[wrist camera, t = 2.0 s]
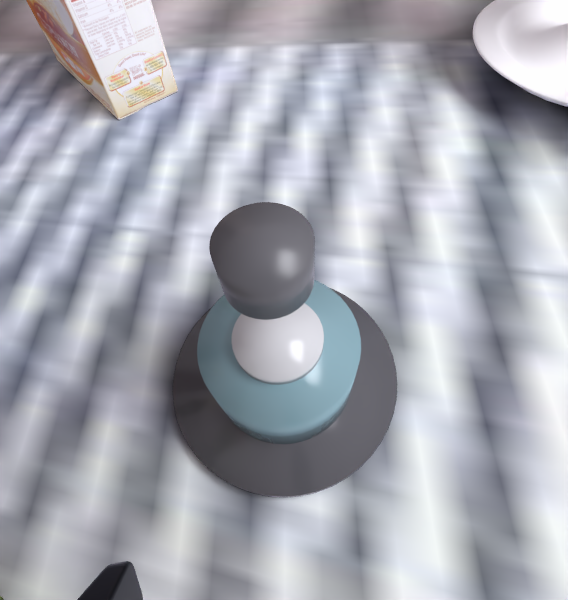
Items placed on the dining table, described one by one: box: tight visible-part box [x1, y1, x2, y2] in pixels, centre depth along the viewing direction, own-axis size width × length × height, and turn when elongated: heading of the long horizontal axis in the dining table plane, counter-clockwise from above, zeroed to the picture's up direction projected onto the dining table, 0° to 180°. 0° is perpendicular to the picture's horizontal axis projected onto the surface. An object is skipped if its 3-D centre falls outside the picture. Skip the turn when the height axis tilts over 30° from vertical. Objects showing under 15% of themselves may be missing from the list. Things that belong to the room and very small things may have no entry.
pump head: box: [210, 202, 315, 320], centre depth 14 cm, size 3×3×3 cm
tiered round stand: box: [173, 280, 397, 497], centre depth 21 cm, size 13×13×6 cm
